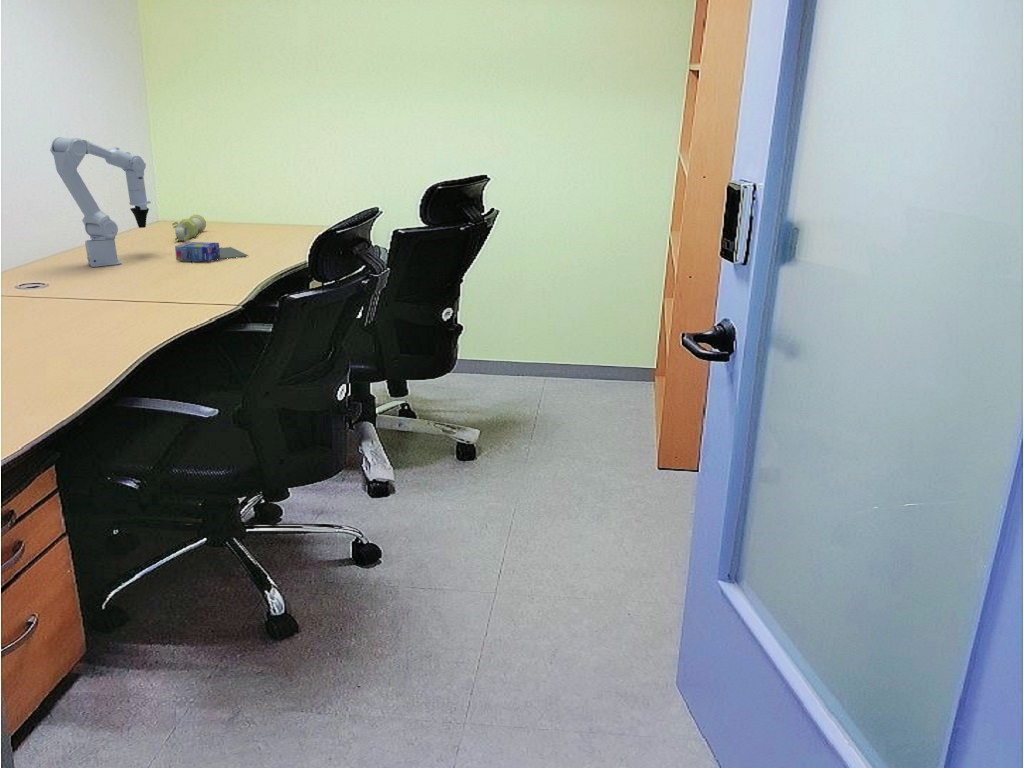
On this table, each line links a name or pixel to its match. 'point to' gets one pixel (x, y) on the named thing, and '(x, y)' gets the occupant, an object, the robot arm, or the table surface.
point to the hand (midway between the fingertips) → (142, 227)
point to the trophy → (189, 227)
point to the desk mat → (228, 253)
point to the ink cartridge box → (197, 251)
